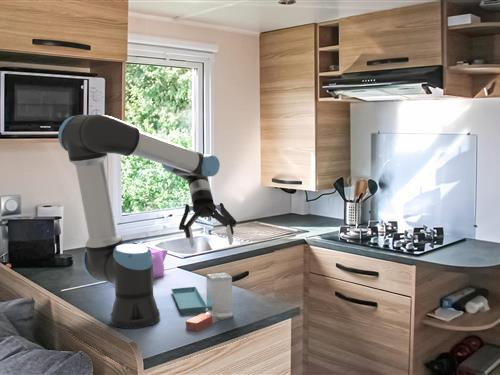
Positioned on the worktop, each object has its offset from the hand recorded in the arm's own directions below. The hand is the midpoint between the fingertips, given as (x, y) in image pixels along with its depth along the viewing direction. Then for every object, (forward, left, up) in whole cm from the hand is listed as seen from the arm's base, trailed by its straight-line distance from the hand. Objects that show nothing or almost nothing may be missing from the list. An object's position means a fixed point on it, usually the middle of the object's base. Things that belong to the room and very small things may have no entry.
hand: (212, 243), depth 199 cm
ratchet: (-17, -10, -20) cm, 28 cm away
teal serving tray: (-4, +8, -21) cm, 23 cm away
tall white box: (-11, -10, -18) cm, 24 cm away
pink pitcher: (+17, +46, -21) cm, 53 cm away
